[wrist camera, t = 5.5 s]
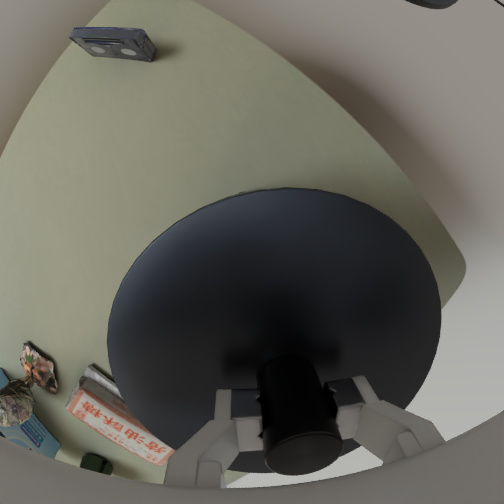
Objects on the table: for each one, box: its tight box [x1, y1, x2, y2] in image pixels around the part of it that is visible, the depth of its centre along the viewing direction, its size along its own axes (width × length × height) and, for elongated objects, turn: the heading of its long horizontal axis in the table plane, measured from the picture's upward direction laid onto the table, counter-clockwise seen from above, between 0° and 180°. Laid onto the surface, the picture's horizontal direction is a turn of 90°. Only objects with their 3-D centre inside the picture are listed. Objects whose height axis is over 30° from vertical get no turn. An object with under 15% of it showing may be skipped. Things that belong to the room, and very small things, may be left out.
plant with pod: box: [0, 343, 58, 427], centre depth 23 cm, size 8×11×20 cm
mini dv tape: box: [69, 27, 157, 62], centre depth 21 cm, size 8×2×6 cm, turn 72°
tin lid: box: [107, 187, 441, 475], centre depth 9 cm, size 15×15×5 cm
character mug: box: [80, 454, 113, 475], centre depth 31 cm, size 11×7×13 cm, turn 39°
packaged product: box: [65, 365, 175, 466], centre depth 32 cm, size 18×5×10 cm
